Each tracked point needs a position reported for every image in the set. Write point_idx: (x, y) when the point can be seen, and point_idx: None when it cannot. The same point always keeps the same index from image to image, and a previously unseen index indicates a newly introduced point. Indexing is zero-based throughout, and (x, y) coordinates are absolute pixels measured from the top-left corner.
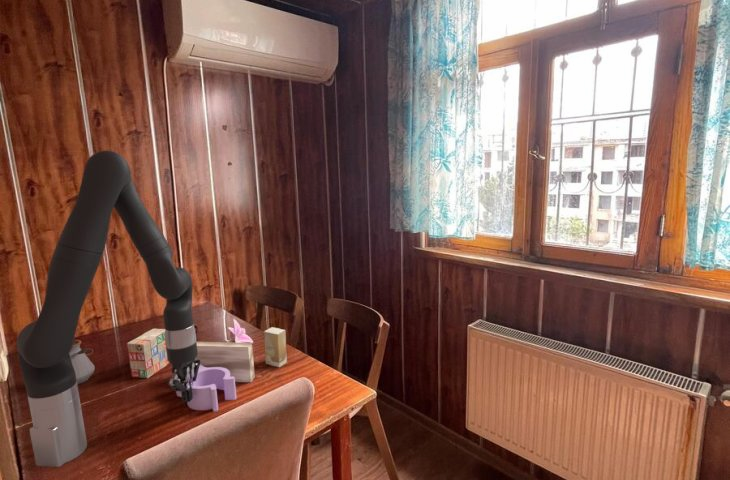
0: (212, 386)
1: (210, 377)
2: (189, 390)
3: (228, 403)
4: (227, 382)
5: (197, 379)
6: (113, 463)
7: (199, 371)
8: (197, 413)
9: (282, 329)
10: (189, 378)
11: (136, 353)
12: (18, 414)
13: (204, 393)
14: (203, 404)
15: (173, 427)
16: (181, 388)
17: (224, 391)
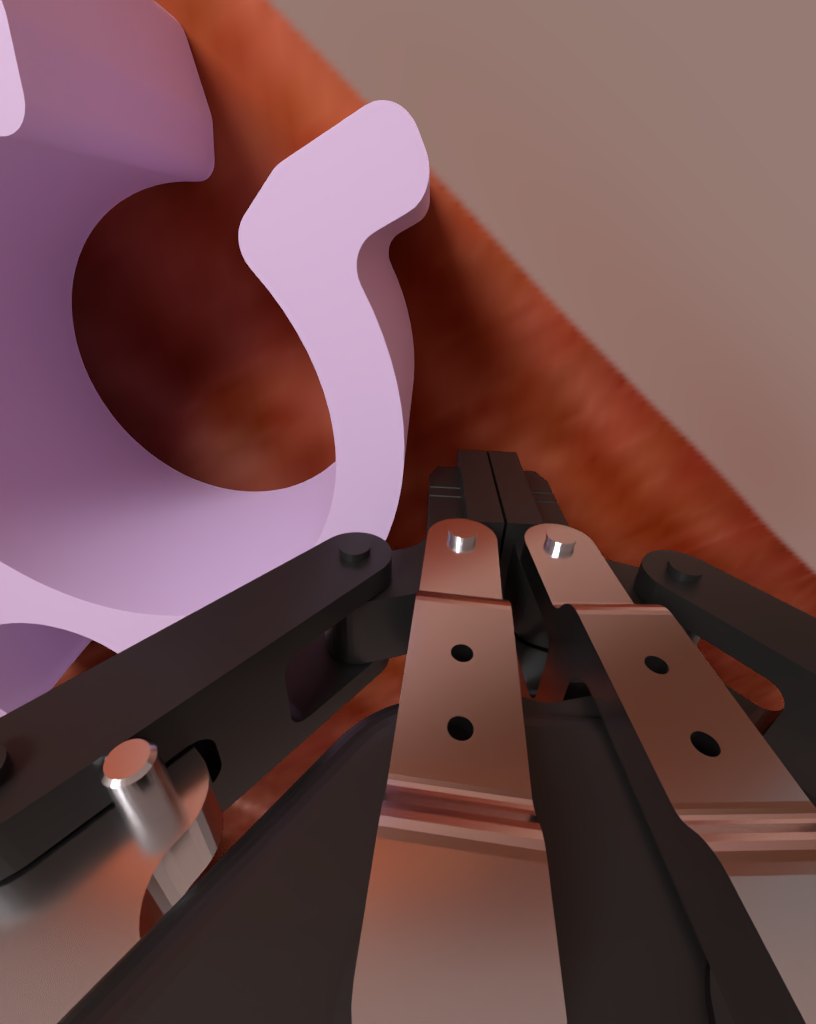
0: (319, 224)
1: (20, 458)
2: (522, 513)
3: (271, 81)
4: (52, 19)
5: (129, 556)
6: None
7: (35, 595)
8: (462, 362)
9: None
10: (620, 643)
11: None
12: None
13: (395, 338)
14: (408, 336)
15: (634, 461)
16: (805, 621)
17: (163, 159)
